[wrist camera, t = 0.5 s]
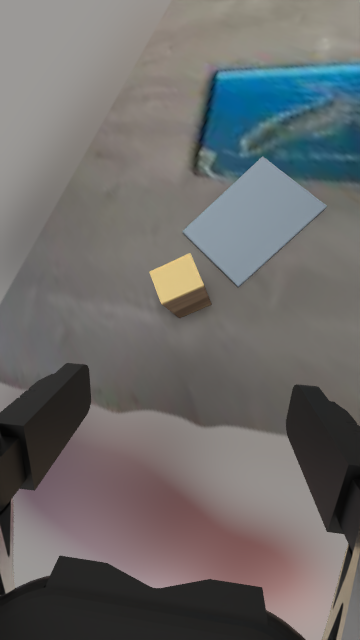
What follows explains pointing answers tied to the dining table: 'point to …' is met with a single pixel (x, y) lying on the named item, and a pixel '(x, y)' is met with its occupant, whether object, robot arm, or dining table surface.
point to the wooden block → (180, 286)
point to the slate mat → (253, 220)
